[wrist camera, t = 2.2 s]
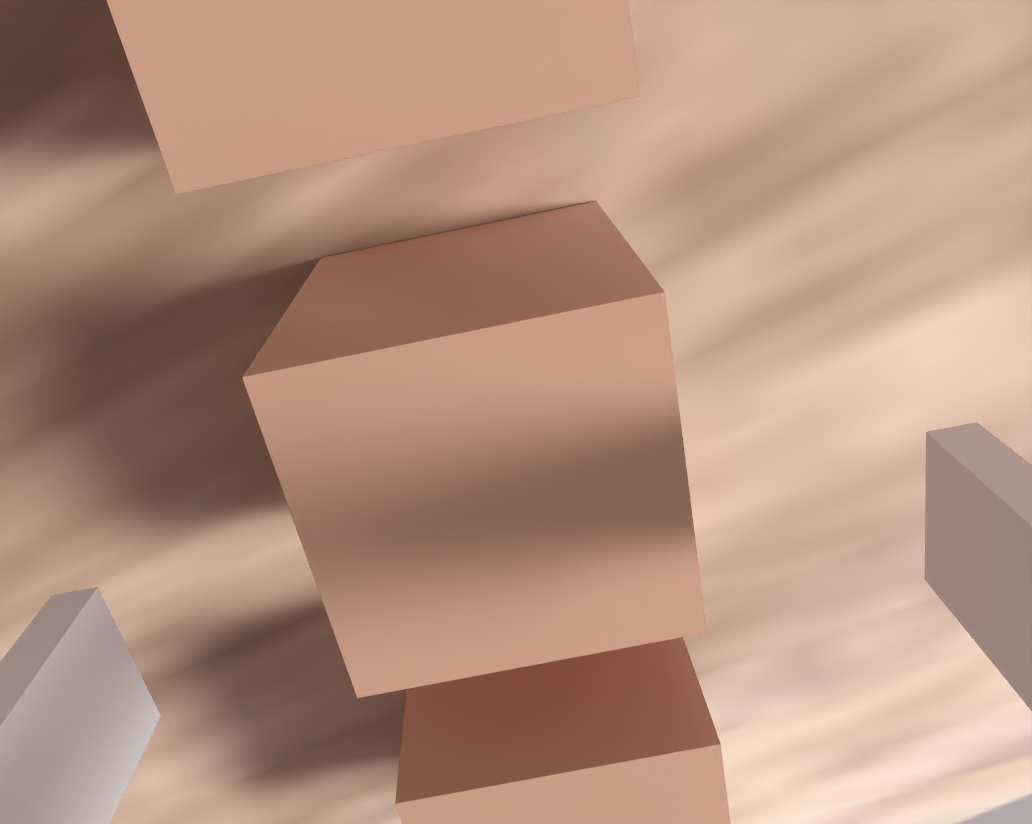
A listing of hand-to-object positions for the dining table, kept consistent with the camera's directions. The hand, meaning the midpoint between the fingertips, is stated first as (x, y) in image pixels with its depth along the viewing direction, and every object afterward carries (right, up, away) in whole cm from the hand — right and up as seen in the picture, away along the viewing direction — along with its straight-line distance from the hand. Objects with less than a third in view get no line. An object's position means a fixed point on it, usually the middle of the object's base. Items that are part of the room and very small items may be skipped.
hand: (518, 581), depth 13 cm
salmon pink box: (+1, -5, +13) cm, 14 cm away
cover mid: (-1, +4, +9) cm, 10 cm away
